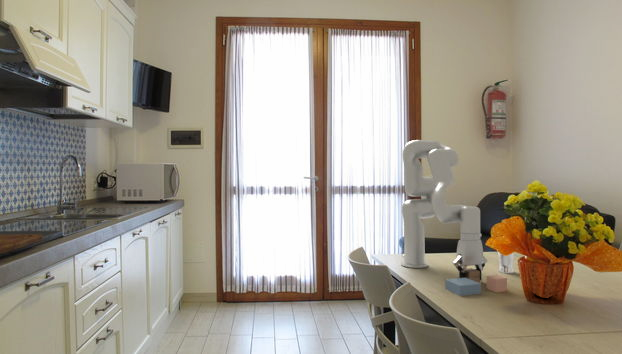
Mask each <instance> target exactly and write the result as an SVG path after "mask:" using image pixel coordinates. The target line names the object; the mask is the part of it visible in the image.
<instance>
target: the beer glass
mask: <svg viewBox="0 0 622 354" xmlns="http://www.w3.org/2000/svg"><path fill="white" fill-rule="evenodd" d="M497 255H498V260H499V261H498V262H499V265H498V272H499V273H501V274H514V273H515V271H514V259H515V253H512V254H510V255H508V256H503V255H501V254H500V253H499V252H498V251H497Z"/></svg>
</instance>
